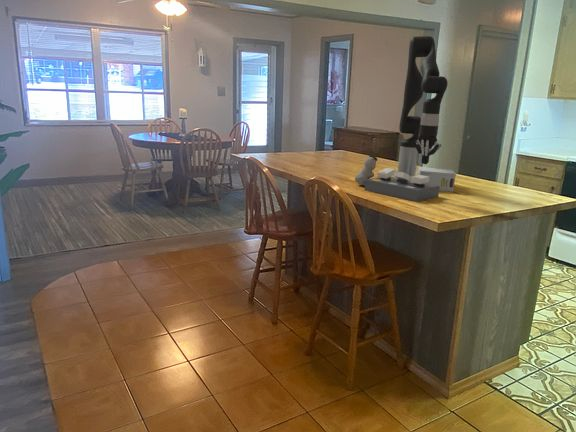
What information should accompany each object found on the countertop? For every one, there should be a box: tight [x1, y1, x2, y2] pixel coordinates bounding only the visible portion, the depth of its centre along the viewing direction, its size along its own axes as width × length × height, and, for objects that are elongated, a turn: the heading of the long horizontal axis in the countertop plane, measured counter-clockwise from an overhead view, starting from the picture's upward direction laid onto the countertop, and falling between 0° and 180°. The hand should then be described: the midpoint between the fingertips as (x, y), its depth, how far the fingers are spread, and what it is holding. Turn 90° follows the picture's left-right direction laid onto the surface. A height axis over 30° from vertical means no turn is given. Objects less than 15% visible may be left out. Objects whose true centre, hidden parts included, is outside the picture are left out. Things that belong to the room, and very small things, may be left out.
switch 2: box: [393, 170, 412, 181], centre depth 209 cm, size 7×5×2 cm
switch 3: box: [410, 174, 429, 184], centre depth 203 cm, size 7×5×2 cm
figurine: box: [354, 154, 378, 187], centre depth 224 cm, size 9×10×15 cm
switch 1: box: [377, 167, 396, 179], centre depth 216 cm, size 7×5×2 cm
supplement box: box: [416, 166, 457, 192], centre depth 226 cm, size 17×13×9 cm
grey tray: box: [364, 176, 440, 203], centre depth 211 cm, size 18×28×6 cm, turn 43°
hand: (424, 163), depth 203 cm, fingers closed
